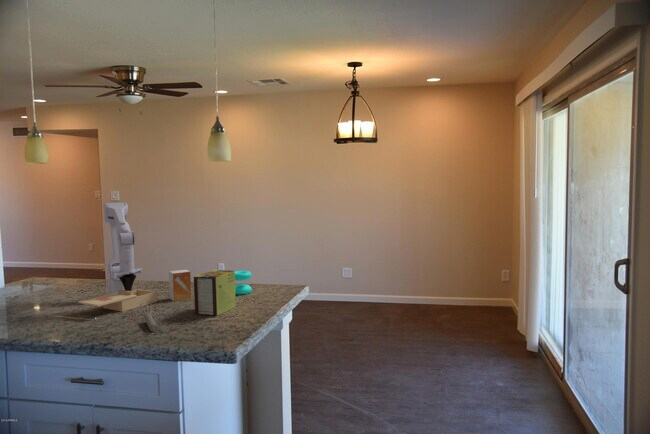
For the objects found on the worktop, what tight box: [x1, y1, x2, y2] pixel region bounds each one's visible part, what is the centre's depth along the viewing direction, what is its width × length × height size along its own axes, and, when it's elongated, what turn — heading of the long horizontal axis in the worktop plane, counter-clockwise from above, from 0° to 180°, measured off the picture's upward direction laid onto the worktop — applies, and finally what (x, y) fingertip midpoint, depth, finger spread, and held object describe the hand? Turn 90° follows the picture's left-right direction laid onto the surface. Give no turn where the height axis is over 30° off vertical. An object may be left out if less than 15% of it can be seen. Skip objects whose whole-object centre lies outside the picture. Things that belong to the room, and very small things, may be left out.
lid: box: [77, 290, 137, 307], centre depth 208 cm, size 12×18×2 cm
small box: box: [168, 269, 192, 302], centre depth 227 cm, size 8×6×13 cm
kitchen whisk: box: [134, 299, 158, 333], centre depth 193 cm, size 6×34×6 cm, turn 28°
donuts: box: [234, 270, 253, 296], centre depth 239 cm, size 10×10×10 cm
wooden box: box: [102, 289, 158, 312], centre depth 217 cm, size 12×18×5 cm, turn 150°
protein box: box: [193, 269, 237, 317], centre depth 208 cm, size 10×15×16 cm
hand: (128, 292), depth 216 cm, fingers closed
